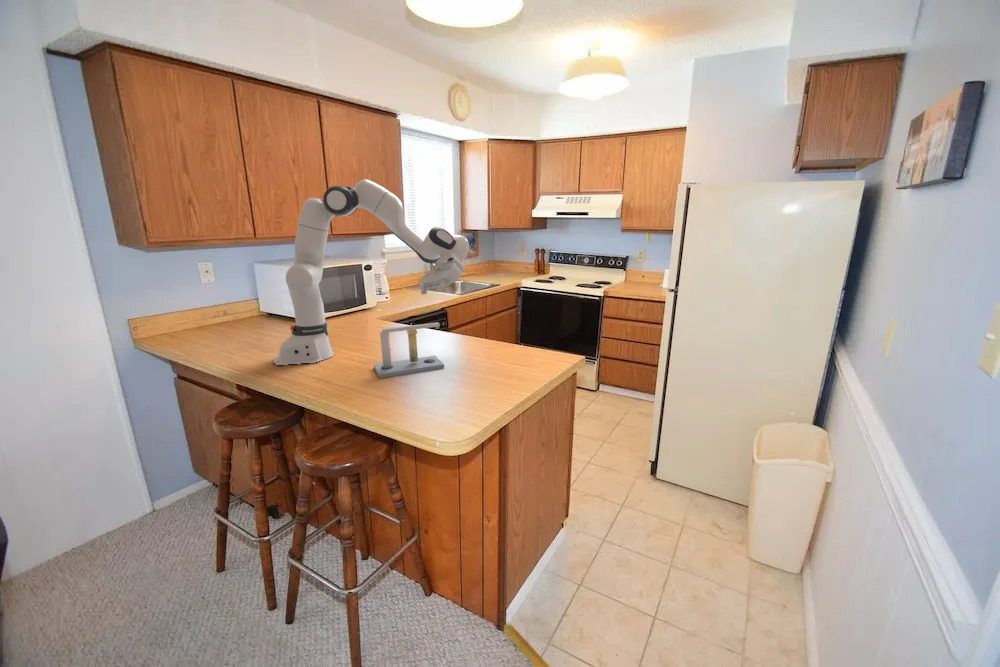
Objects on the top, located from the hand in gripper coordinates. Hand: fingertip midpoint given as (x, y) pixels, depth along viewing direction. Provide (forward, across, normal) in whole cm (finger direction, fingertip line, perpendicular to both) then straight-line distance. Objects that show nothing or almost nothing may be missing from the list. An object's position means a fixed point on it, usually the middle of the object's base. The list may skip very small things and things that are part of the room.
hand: (430, 292), depth 166 cm
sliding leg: (+25, -4, +12) cm, 28 cm away
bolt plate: (+27, -5, +12) cm, 30 cm away
